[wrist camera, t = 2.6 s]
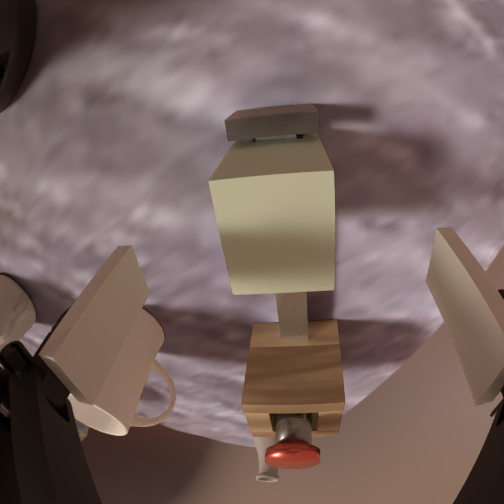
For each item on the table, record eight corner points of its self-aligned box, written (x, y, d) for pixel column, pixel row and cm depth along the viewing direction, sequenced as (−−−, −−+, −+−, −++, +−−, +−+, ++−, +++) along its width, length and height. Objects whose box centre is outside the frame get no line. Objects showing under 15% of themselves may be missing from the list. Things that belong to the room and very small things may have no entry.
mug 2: (203, 341, 32) (176, 442, 22) (172, 371, 36) (146, 454, 26) (107, 284, 29) (50, 377, 19) (90, 324, 33) (47, 403, 23)
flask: (257, 405, 39) (250, 470, 31) (305, 415, 40) (303, 477, 31) (242, 423, 43) (234, 480, 35) (285, 432, 44) (281, 486, 35)
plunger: (268, 380, 25) (261, 454, 19) (320, 379, 24) (321, 453, 18) (273, 403, 27) (267, 468, 21) (318, 402, 27) (318, 468, 21)
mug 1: (19, 322, 37) (-12, 368, 28) (-14, 276, 32) (-51, 320, 24) (62, 318, 34) (25, 376, 25) (23, 262, 29) (-25, 318, 21)
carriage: (238, 136, 19) (208, 180, 12) (315, 129, 18) (333, 170, 11) (251, 216, 22) (233, 294, 15) (320, 212, 22) (333, 290, 15)
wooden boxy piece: (253, 323, 29) (241, 404, 22) (338, 319, 28) (347, 402, 21) (261, 365, 33) (253, 436, 26) (334, 362, 32) (339, 435, 24)
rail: (236, 110, 19) (224, 120, 15) (312, 103, 18) (318, 111, 15) (268, 322, 29) (265, 355, 26) (321, 320, 28) (323, 353, 25)
